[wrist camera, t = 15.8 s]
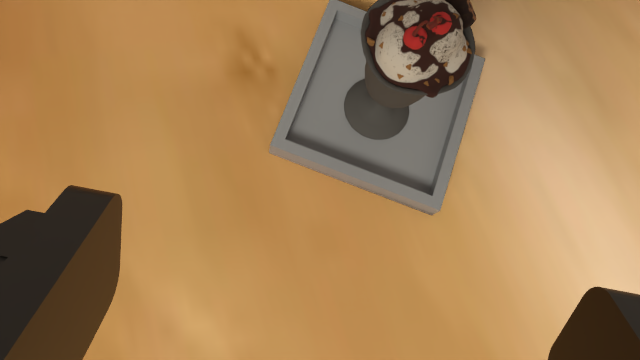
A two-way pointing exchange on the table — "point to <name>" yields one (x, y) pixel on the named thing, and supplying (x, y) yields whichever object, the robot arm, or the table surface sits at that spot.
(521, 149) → the table surface
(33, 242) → the robot arm
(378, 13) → the sundae
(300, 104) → the tray
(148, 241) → the table surface
